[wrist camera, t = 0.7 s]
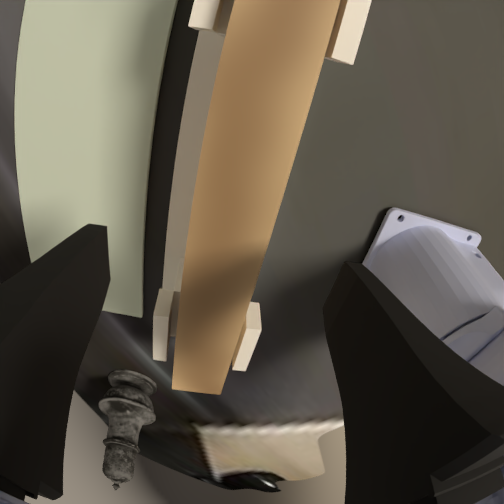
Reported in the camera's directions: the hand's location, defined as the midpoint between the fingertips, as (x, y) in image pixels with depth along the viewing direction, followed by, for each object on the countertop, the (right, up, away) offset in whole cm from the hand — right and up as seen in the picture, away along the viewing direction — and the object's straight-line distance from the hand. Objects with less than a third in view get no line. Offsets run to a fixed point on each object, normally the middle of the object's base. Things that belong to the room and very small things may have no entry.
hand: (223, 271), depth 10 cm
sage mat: (-9, +7, +6) cm, 13 cm away
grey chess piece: (-12, -13, +21) cm, 27 cm away
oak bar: (0, +3, +5) cm, 6 cm away
